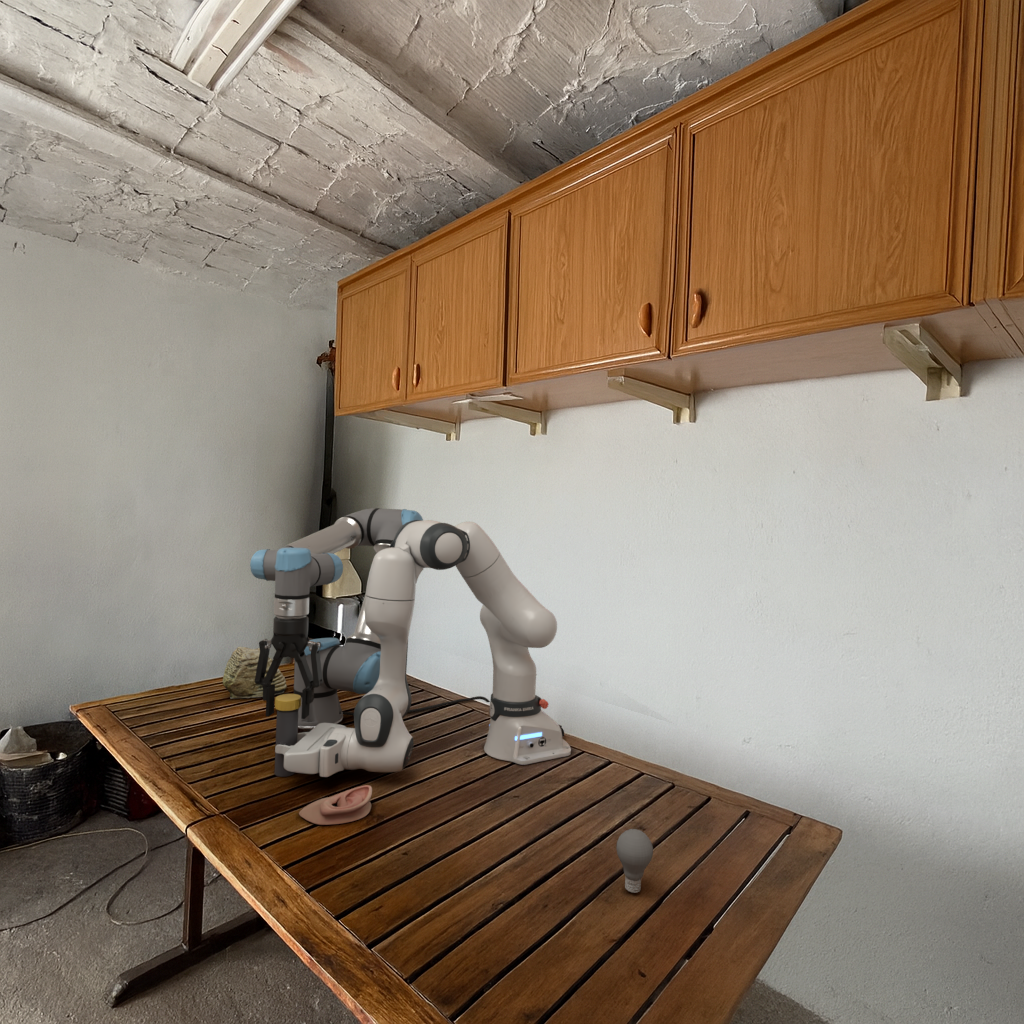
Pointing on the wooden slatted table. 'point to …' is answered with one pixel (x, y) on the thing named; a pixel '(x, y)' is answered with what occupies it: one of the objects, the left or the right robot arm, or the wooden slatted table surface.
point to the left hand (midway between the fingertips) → (287, 715)
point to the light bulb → (634, 857)
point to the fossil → (248, 674)
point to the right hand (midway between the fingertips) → (282, 742)
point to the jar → (285, 737)
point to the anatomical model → (339, 807)
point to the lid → (287, 702)
